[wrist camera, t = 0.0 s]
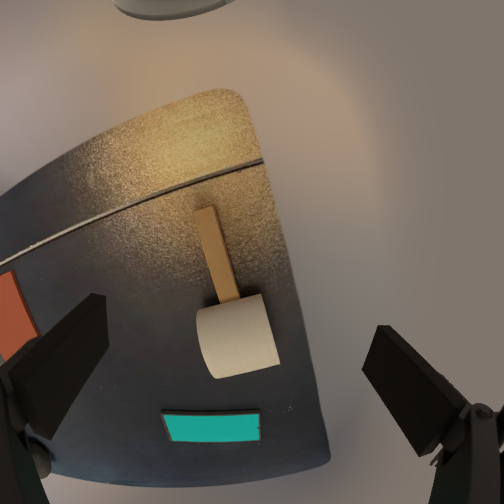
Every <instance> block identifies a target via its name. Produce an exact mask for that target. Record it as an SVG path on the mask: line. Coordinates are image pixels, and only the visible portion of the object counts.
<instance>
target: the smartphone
mask: <svg viewBox="0 0 504 504" xmlns="http://www.w3.org/2000/svg"><path fill="white" fill-rule="evenodd" d="M161 418H162V421H163V423H164V426H165V429H166V432H167V434H168V437H169V440H170V441H174V442H198V443H224V442H248V441H260V440H261V424H260V410H243V411H214V412H193V411H165V410H163V411H161Z"/></svg>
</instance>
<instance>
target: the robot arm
mask: <svg viewBox="0 0 504 504" xmlns="http://www.w3.org/2000/svg"><path fill="white" fill-rule="evenodd" d="M108 347H109V338H108V326H107V311H106V296H104V295H99V294H94V293H91V294H90V295H89V296H88V297H87V298H85V299H84V300H83V301H82V302H81V303H80V304H78V305H77V306H76V307H75V308H74V309H73V310H72V311H71V312H69V313H68V314H67V315H66V316H65V317H64V318H63V319H62V320H61V321H59V322H58V323H57V324H56V325H55V326H54V327H53V328H52V329H51V330H50V331H49V332H48V333H46V334H45V335H44V336H43V337H42V336H36V337H34V338H32V339H30V340H28V341H27V342H26V343H25V344H24V345H23V346H22V347H21V348H20V349H18V350H17V351H16V354H15V353H14V354H13V355H12V356H11V357H10V358H9V359H8V360H7V361H6V362H5V363H4V364H3V365H2V366H1V367H0V504H50V503H49V501H48V498H47V496H46V494H45V491H44V488H43V486H42V483H41V480H40V477H39V475H38V472H37V469H36V466H35V462H34V459H33V456H32V452H31V449H30V445H29V441H28V437H27V434H26V432H25V429H24V427H25V426H26V424H27V423H29V425H30V427H31V429H32V431H33V432H34V433H35V434H37V435H39V436H41V437H44V438H46V439H48V440H50V441H51V439H52V438H53V436H54V434H55V432H56V430H57V429H58V427H59V425H60V424H61V422H62V420H63V418H64V417H65V415H66V413H67V412H68V410H69V408H70V407H71V405H72V403H73V402H74V400H75V398H76V397H77V395H78V394H79V392H80V390H81V389H82V387H83V386H84V384H85V382H86V381H87V379H88V378H89V376H90V375H91V373H92V372H93V370H94V368H95V367H96V365H97V364H98V362H99V361H100V359H101V358H102V356H103V355H104V353H105V352H106V350H107V349H108ZM362 371H363V372H364V374H365V375H366V377H367V378H368V380H369V381H370V383H371V384H372V386H373V387H374V389H375V390H376V392H377V393H378V395H379V396H380V398H381V399H382V401H383V402H384V404H385V405H386V407H387V408H388V410H389V411H390V413H391V414H392V416H393V418H394V419H395V421H396V422H397V424H398V425H399V427H400V428H401V430H402V431H403V433H404V435H405V436H406V438H407V439H408V441H409V442H410V444H411V446H412V447H413V449H414V450H415V452H416V453H417V455H418V456H419V457H421V456H424V455H427V454H430V453H432V452H433V451H434V450H435V448H436V447H437V446H438V444H439V443H441V444H442V446H443V448H442V449H441V450H440V452H439V453H438V454H437V455H436V456H435V458H434V459H433V460H432V461H431V463H430V465H433V463H434V462H435V461H436V460H438V462H437V464H436V465H435V467H437V468H436V473H435V479H434V483H433V487H432V491H431V496H430V500H429V503H428V504H504V451H503V452H502V453H500V452H499V449H500V448H501V446H502V445H503V444H504V405H503V407H502V409H501V410H500V412H493V410H492V409H491V408H489V407H488V406H487V405H484V404H481V403H476V404H473V405H471V404H470V403H469V402H468V401H467V399H466V398H465V397H464V396H462V394H461V393H460V392H459V391H458V390H457V389H456V388H454V386H453V385H452V384H451V383H449V381H448V380H447V379H446V378H445V377H444V376H443V375H441V374H440V373H438V372H437V371H436V370H435V369H434V368H433V367H432V366H431V365H430V364H429V363H428V362H427V361H426V360H425V359H424V358H423V357H422V356H421V355H420V354H419V353H418V352H417V351H416V350H415V349H414V348H413V347H411V345H410V344H409V343H407V342H406V341H405V340H404V339H403V338H402V337H401V336H400V335H399V334H398V333H397V332H396V331H395V330H394V329H393V328H392V327H391V326H390V325H378V327H377V329H376V332H375V335H374V338H373V341H372V344H371V346H370V349H369V352H368V354H367V357H366V360H365V362H364V365H363V368H362Z"/></svg>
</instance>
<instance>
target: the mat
mask: <svg viewBox="0 0 504 504" xmlns="http://www.w3.org/2000/svg"><path fill="white" fill-rule="evenodd" d="M36 336H41V335H40V333H39V331H38V329H37V327H36V325H35V323H34V321H33V318H32V316H31V314H30V312H29V309H28V307H27V305H26V302H25V300H24V297H23V295H22V292H21V290H20V287H19V285H18V282H17V279H16V276H15V273H14V271H13V270H11V271H9V272H7V273H5V274H3V275H0V353H1V355H2V357H3V358H4V360H5V362H6V361H7V360H8V359H9V358H10V357H11V356H12V355H13V354H14V353H15V354H16V351H17V350H18V349H20V348H21V347H22V346H23V345H24V344H25V343H26V342H27V341H28V340H30V339H32V338H34V337H36Z"/></svg>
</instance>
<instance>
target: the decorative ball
mask: <svg viewBox="0 0 504 504" xmlns="http://www.w3.org/2000/svg"><path fill="white" fill-rule="evenodd" d="M29 445H30V449H31V452H32V456H33V459H34V462H35V466H36V469H37V472H38V475H39V477H40V479H43V478H45V477H47V476H48V475H49V474H50V472H51V461H50V458H49V456H48V454H47V453H46V452H45V450H44V449H43V448H41V447H40V446H39V445H37V444H35V443H32V442H29Z"/></svg>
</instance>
